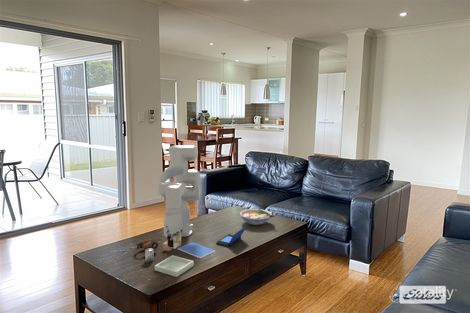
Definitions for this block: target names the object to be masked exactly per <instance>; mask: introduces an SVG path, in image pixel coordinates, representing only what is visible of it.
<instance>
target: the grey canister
mask: <svg viewBox="0 0 470 313" xmlns="http://www.w3.org/2000/svg"><path fill="white" fill-rule="evenodd" d="M144 252H145V258H144V259H145V263H153V262H154V261H155V258H154V257H155V256H154V252H155V250H154V249H153V248H148V249H146V250H145V249H144Z"/></svg>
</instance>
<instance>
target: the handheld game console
mask: <svg viewBox="0 0 470 313" xmlns="http://www.w3.org/2000/svg"><path fill="white" fill-rule="evenodd" d="M246 229H247V226H245V227H243V228H242V229H240V230H239V231H237V232H235V233H234V234H226V235H225V236H223V237H222V238H220V239H219V240H218V241H216V245H219V246H223V247H227V248H230V247H231V246H232V245H234V244H235V243H236V242H238V241H239V240H241V239H242V236H243V234H244V232H245V230H246Z"/></svg>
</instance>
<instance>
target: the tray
mask: <svg viewBox="0 0 470 313" xmlns="http://www.w3.org/2000/svg"><path fill="white" fill-rule="evenodd" d="M194 265H195V262H194V260H191V259H189V258H184V257H180V256H177V255H173V254H172V255H170V256H168V257H167V258H165V259H164V260H162V261H160V262H158V263H157V264H155V265H154V271H156V272H160V273H162V274H166V275H170V276H172V277H175V278H177V277H179V276H180V275H182V274H184V273H186V271H188V270H189V269H191V268H192V267H194Z"/></svg>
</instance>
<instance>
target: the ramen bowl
mask: <svg viewBox="0 0 470 313" xmlns="http://www.w3.org/2000/svg"><path fill="white" fill-rule="evenodd" d="M239 215H240V216H241V218H242V219H243V221H244V222H246V223H248V224H250V225H252V226H260V225H263V224H265V223H267V222H268V221H269V220H270V219H271V218H275V216H274V215H273V213H272V212H271V211H269V210H266V209H262V208H261V209H260V208H258V207H257V208H249V209H248V208H247V209H243V210H242V211H240V213H239Z"/></svg>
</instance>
